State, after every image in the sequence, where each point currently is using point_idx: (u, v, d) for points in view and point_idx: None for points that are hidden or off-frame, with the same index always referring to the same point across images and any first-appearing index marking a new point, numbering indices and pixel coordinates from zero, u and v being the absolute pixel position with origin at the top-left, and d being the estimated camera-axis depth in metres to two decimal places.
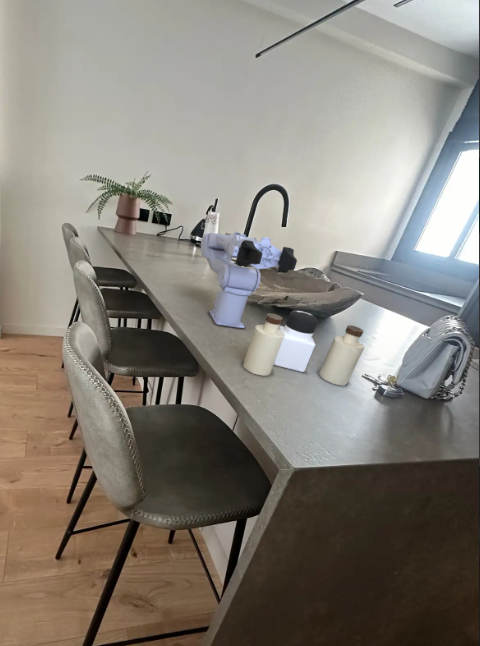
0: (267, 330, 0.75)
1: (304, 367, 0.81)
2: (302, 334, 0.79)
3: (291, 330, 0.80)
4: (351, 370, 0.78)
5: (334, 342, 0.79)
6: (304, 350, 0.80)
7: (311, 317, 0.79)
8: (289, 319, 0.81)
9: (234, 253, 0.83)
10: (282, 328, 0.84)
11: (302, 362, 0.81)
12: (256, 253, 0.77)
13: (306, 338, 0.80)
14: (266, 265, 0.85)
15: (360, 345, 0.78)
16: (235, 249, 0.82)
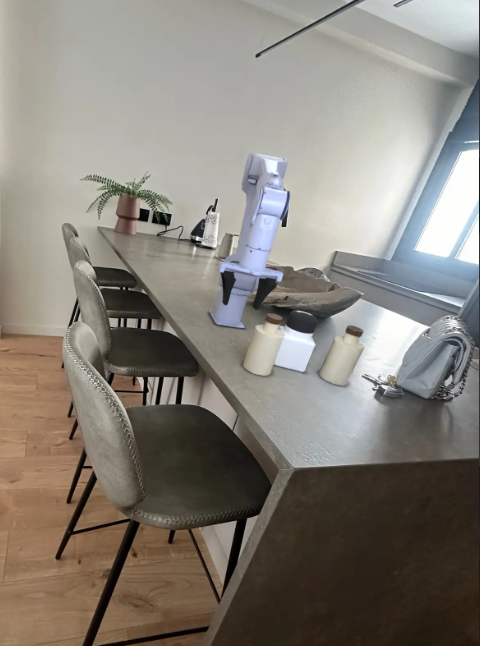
0: (267, 330, 0.75)
1: (304, 367, 0.81)
2: (302, 334, 0.79)
3: (291, 330, 0.80)
4: (351, 370, 0.78)
5: (334, 342, 0.79)
6: (304, 350, 0.80)
7: (311, 317, 0.79)
8: (289, 319, 0.81)
9: None
10: (282, 328, 0.84)
11: (302, 362, 0.81)
12: (225, 299, 0.84)
13: (306, 338, 0.80)
14: None
15: (360, 345, 0.78)
16: None
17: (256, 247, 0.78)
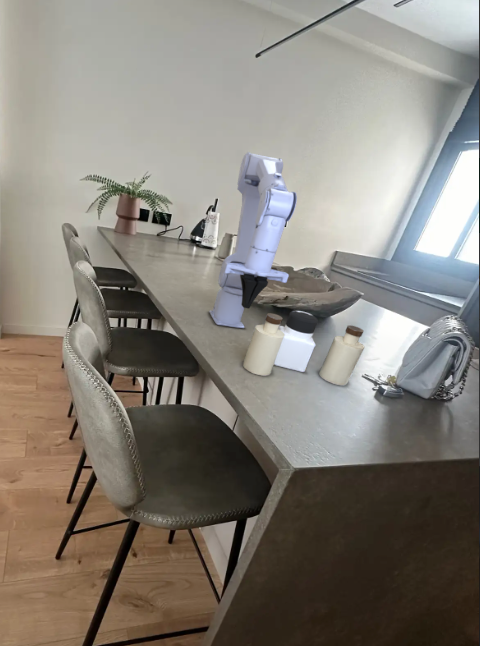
0: (267, 330, 0.75)
1: (304, 367, 0.81)
2: (302, 334, 0.79)
3: (291, 330, 0.80)
4: (351, 370, 0.78)
5: (334, 342, 0.79)
6: (304, 350, 0.80)
7: (311, 317, 0.79)
8: (289, 319, 0.81)
9: None
10: (282, 328, 0.84)
11: (302, 362, 0.81)
12: (244, 302, 0.85)
13: (306, 338, 0.80)
14: None
15: (360, 345, 0.78)
16: None
17: (263, 248, 0.78)
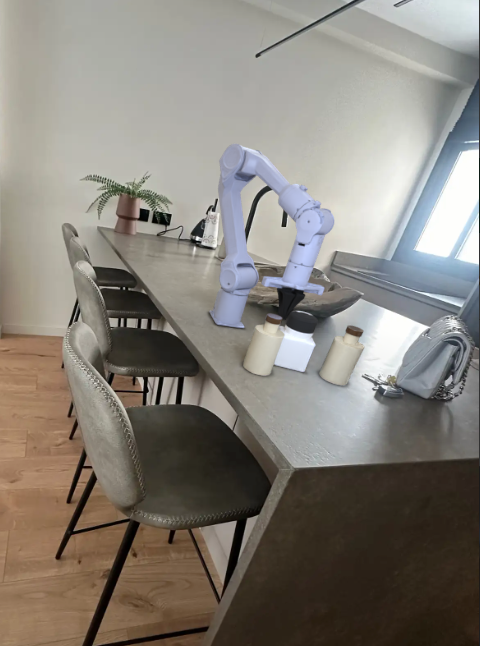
0: (267, 330, 0.75)
1: (304, 367, 0.81)
2: (302, 334, 0.79)
3: (291, 330, 0.80)
4: (351, 370, 0.78)
5: (334, 342, 0.79)
6: (304, 350, 0.80)
7: (311, 317, 0.79)
8: (289, 319, 0.80)
9: (263, 284, 0.87)
10: (282, 328, 0.84)
11: (302, 362, 0.81)
12: (281, 313, 0.89)
13: (306, 338, 0.80)
14: None
15: (360, 345, 0.78)
16: (264, 285, 0.86)
17: (311, 265, 0.82)
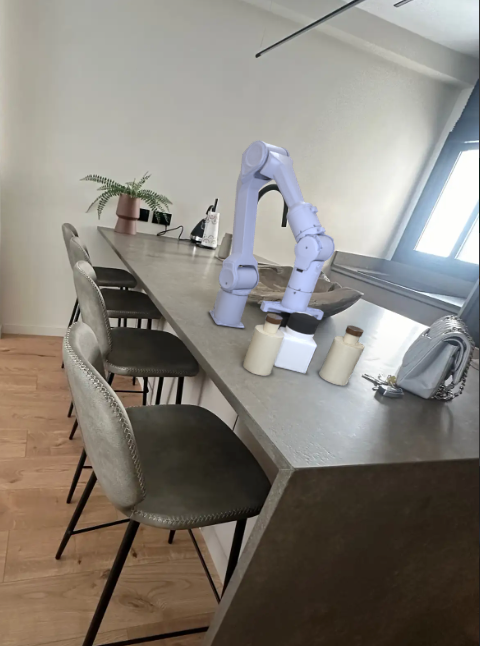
0: (267, 330, 0.75)
1: (305, 368, 0.81)
2: (303, 335, 0.79)
3: (292, 331, 0.79)
4: (351, 370, 0.78)
5: (334, 342, 0.79)
6: (305, 351, 0.79)
7: (312, 318, 0.79)
8: (290, 320, 0.80)
9: None
10: (283, 329, 0.84)
11: (304, 363, 0.80)
12: None
13: (307, 339, 0.80)
14: None
15: (360, 345, 0.78)
16: None
17: (309, 291, 0.81)
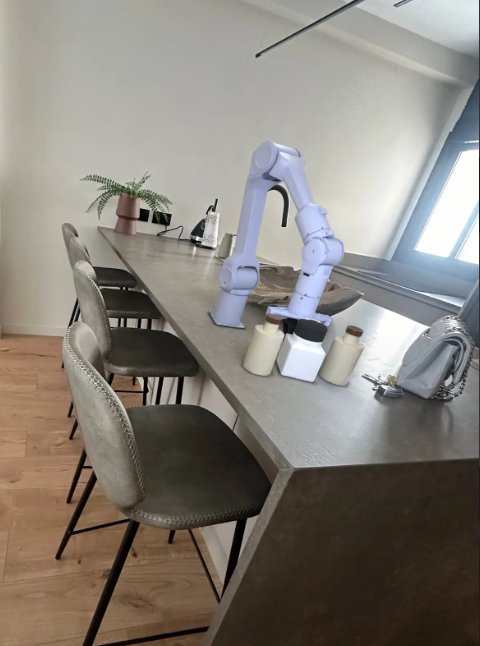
0: (267, 330, 0.75)
1: (314, 377, 0.78)
2: (312, 343, 0.75)
3: (300, 339, 0.76)
4: (351, 370, 0.78)
5: (334, 342, 0.79)
6: (313, 359, 0.76)
7: (321, 325, 0.75)
8: (298, 327, 0.77)
9: None
10: (290, 336, 0.80)
11: (312, 372, 0.77)
12: None
13: (316, 346, 0.76)
14: None
15: (360, 345, 0.78)
16: None
17: (316, 296, 0.78)
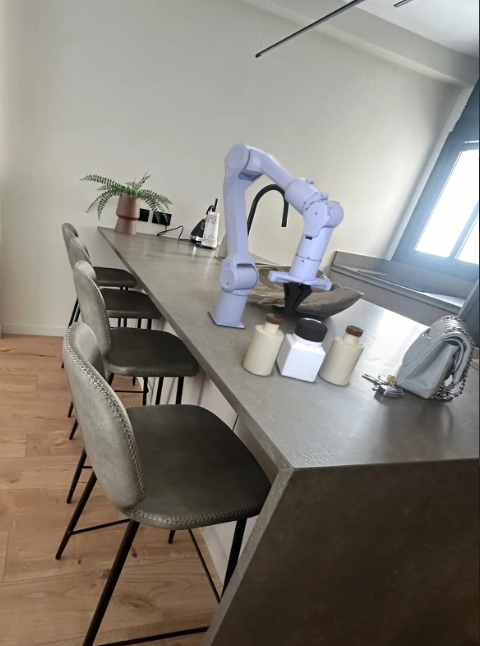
0: (267, 330, 0.75)
1: (314, 377, 0.78)
2: (312, 343, 0.75)
3: (300, 339, 0.76)
4: (351, 370, 0.78)
5: (334, 342, 0.79)
6: (313, 359, 0.76)
7: (321, 325, 0.75)
8: (298, 327, 0.77)
9: (269, 279, 0.84)
10: (290, 336, 0.80)
11: (312, 372, 0.77)
12: (287, 309, 0.86)
13: (316, 346, 0.76)
14: None
15: (360, 345, 0.78)
16: None
17: (318, 259, 0.79)
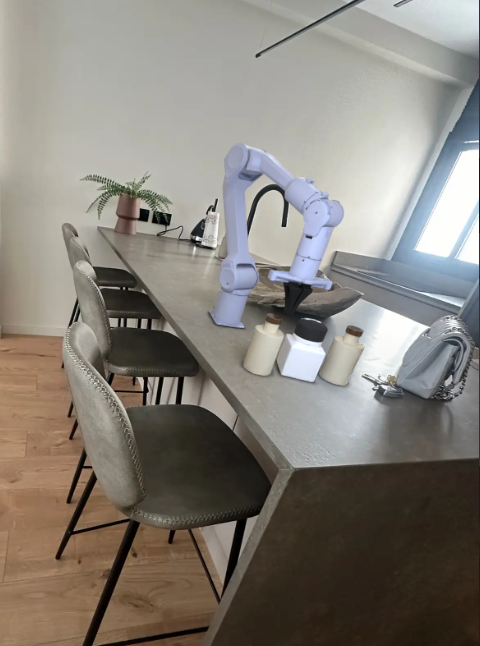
0: (267, 330, 0.75)
1: (314, 377, 0.78)
2: (312, 343, 0.75)
3: (300, 339, 0.76)
4: (351, 370, 0.78)
5: (334, 342, 0.79)
6: (313, 359, 0.76)
7: (321, 325, 0.75)
8: (298, 327, 0.77)
9: (269, 278, 0.84)
10: (290, 336, 0.80)
11: (312, 372, 0.77)
12: (287, 309, 0.86)
13: (316, 346, 0.76)
14: None
15: (360, 345, 0.78)
16: (270, 279, 0.83)
17: (318, 258, 0.79)
